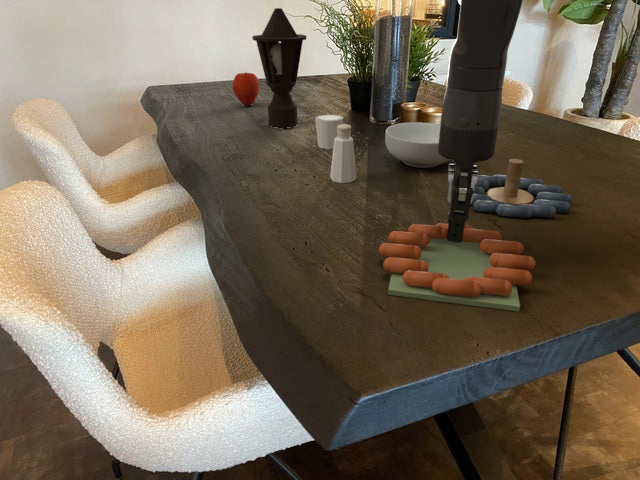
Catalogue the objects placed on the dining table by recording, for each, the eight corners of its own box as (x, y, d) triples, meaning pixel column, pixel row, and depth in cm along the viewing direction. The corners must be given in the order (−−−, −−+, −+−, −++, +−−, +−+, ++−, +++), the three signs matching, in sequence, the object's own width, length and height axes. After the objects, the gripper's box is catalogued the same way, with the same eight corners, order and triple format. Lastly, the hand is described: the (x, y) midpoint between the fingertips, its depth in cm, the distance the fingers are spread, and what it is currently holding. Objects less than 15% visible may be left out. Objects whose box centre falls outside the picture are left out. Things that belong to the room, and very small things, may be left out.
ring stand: (529, 193, 92) (537, 155, 89) (535, 210, 86) (544, 170, 82) (485, 190, 94) (491, 152, 91) (487, 206, 87) (494, 166, 84)
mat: (507, 250, 73) (508, 245, 73) (519, 311, 59) (520, 306, 59) (400, 238, 77) (400, 234, 76) (387, 294, 63) (388, 289, 62)
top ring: (524, 239, 73) (527, 228, 72) (545, 308, 59) (549, 294, 58) (384, 227, 77) (384, 216, 76) (371, 289, 63) (372, 276, 62)
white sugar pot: (331, 140, 125) (331, 112, 122) (348, 146, 120) (349, 117, 117) (309, 144, 121) (309, 116, 118) (326, 151, 116) (326, 122, 113)
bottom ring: (562, 187, 95) (564, 178, 94) (581, 225, 80) (584, 214, 79) (451, 179, 100) (452, 169, 99) (450, 213, 85) (451, 202, 84)
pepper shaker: (327, 182, 98) (328, 128, 93) (332, 173, 103) (332, 121, 98) (354, 184, 97) (356, 129, 92) (357, 175, 102) (359, 122, 97)
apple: (232, 109, 157) (229, 74, 152) (237, 103, 164) (234, 69, 159) (258, 109, 156) (256, 74, 151) (262, 103, 164) (260, 69, 159)
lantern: (303, 133, 131) (300, 9, 117) (250, 131, 133) (241, 9, 119) (313, 120, 143) (312, 7, 129) (265, 118, 146) (258, 7, 132)
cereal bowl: (439, 181, 98) (443, 147, 95) (369, 165, 107) (370, 133, 104) (472, 159, 110) (476, 128, 107) (406, 146, 119) (408, 117, 116)
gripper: (503, 136, 59) (482, 260, 67) (495, 110, 71) (478, 218, 79) (439, 133, 60) (426, 254, 68) (442, 108, 72) (430, 213, 80)
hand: (454, 234), depth 73 cm, fingers open, 3 cm apart
